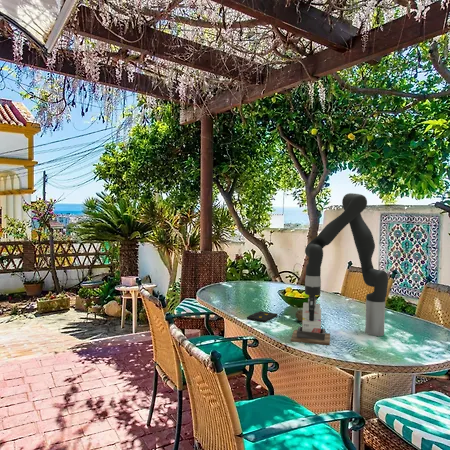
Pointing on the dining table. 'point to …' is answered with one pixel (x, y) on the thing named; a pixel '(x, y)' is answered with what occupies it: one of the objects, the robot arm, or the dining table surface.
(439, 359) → the dining table surface
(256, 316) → the cassette tape
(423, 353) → the dining table surface
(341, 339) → the dining table surface
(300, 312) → the brown cylinder
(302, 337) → the dock
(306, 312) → the ink cartridge box
